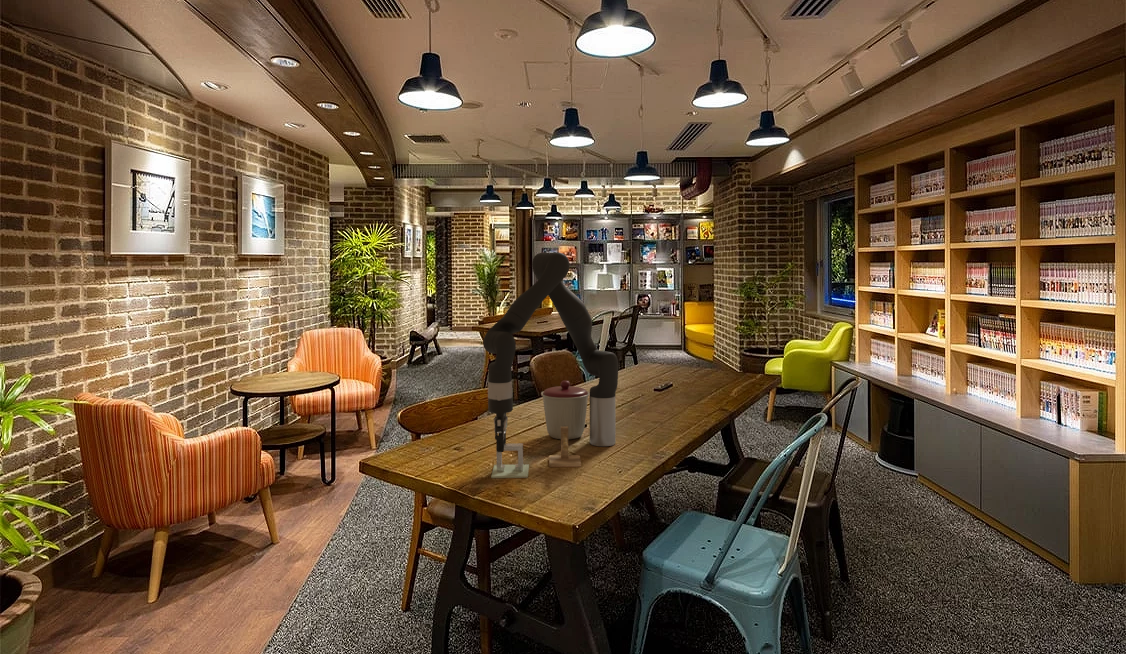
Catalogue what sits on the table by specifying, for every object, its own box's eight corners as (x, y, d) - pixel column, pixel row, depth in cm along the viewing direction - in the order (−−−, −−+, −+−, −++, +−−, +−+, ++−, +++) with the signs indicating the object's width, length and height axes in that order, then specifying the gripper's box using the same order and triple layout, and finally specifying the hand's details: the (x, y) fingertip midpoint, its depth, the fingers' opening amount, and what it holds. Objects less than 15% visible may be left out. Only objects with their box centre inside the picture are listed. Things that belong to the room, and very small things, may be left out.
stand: (549, 458, 212) (549, 425, 210) (579, 457, 212) (579, 425, 211) (549, 477, 193) (549, 441, 192) (582, 476, 193) (582, 441, 192)
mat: (494, 466, 203) (494, 464, 203) (529, 466, 203) (529, 464, 203) (491, 478, 192) (491, 476, 192) (527, 477, 192) (527, 475, 192)
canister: (590, 443, 229) (590, 385, 227) (540, 443, 230) (539, 385, 228) (589, 430, 247) (589, 376, 245) (542, 430, 248) (542, 376, 246)
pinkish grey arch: (497, 468, 199) (497, 443, 198) (523, 468, 199) (522, 443, 199) (496, 471, 196) (496, 446, 195) (522, 471, 196) (522, 446, 196)
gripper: (490, 391, 202) (491, 441, 204) (485, 401, 188) (486, 454, 190) (513, 391, 203) (514, 441, 204) (511, 400, 188) (512, 454, 190)
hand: (501, 447), depth 197 cm, fingers open, 8 cm apart
